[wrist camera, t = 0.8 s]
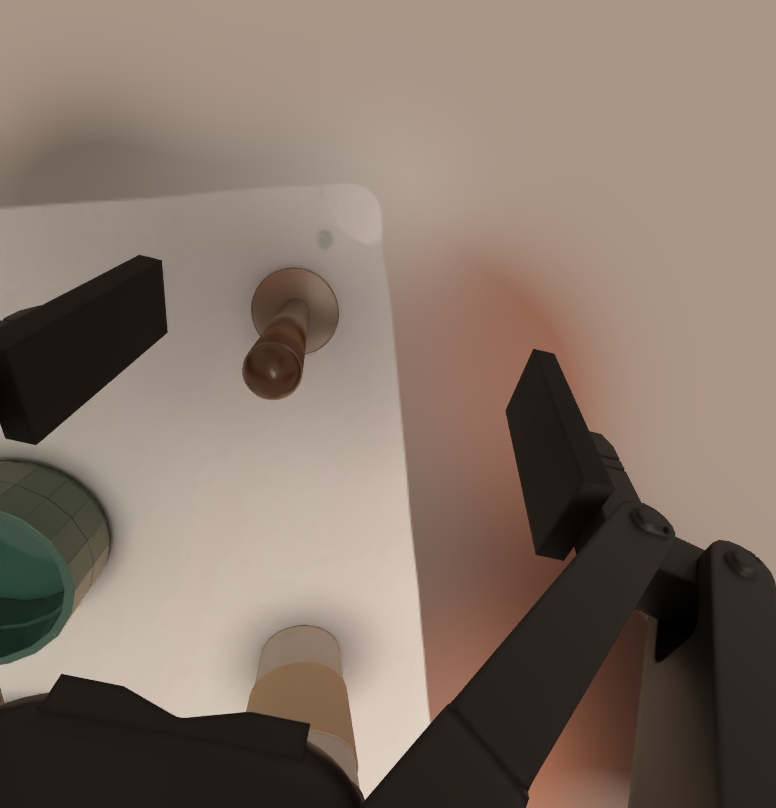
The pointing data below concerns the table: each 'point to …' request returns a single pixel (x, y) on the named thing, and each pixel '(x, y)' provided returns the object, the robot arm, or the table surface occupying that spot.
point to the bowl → (44, 554)
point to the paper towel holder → (287, 330)
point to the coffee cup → (308, 691)
